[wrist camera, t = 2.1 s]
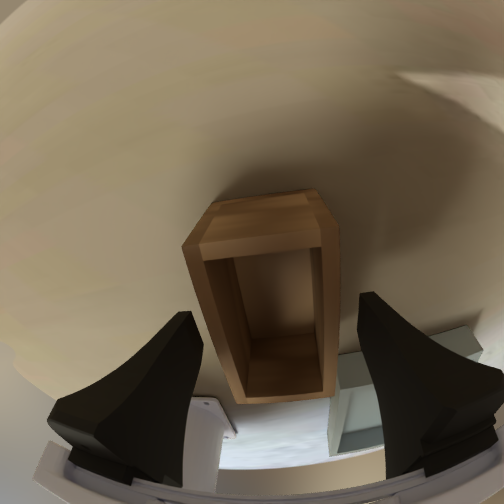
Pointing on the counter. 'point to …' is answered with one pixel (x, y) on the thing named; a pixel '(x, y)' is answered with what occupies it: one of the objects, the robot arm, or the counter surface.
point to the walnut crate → (270, 293)
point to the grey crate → (374, 396)
